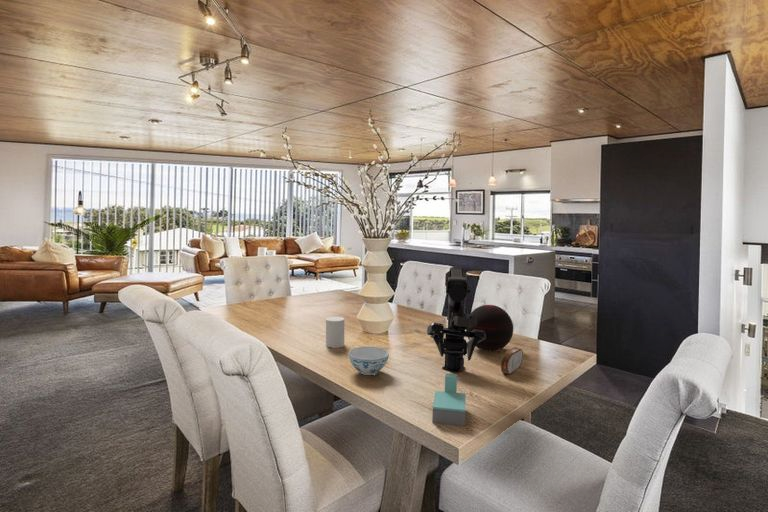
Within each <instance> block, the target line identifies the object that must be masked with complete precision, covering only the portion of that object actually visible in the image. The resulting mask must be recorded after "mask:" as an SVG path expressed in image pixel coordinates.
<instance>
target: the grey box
mask: <svg viewBox="0 0 768 512" xmlns="http://www.w3.org/2000/svg"><path fill="white" fill-rule="evenodd" d="M431 418H432V419H431V420H432V424H440V425H441V424H442V425H451V426H460V427H465V425H466V411H465V412H460V411H450V410H440V409H433V408H432V417H431Z"/></svg>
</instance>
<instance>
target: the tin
mask: <svg viewBox="0 0 768 512" xmlns="http://www.w3.org/2000/svg"><path fill="white" fill-rule="evenodd" d="M523 355H524V351H523V349H522V348H520V347H517V346H514V347H512V348H510V349H508V350H506V351H505V352H504V354H503V356H502V359H501V362H500V363H501V364H500V369H501V373H503V374H506V375H511V374H512V373H514V372H516V371H517V370H519V369H520V368H521V365H522V363H523Z"/></svg>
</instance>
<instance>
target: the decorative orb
mask: <svg viewBox="0 0 768 512" xmlns="http://www.w3.org/2000/svg"><path fill="white" fill-rule="evenodd" d="M470 316H476V317H477V325H476V326H471V328H468V329H467V330H465V331H468V332H471V331H472V330H474V329H477V330H483V331H484V332H485V334H486V339H484V340H483V341H481V342H479V343H477V344H476V346H475V348H477V349H479V350H480V351H485V352H496V351H500V350H502V349H504V348H506V347H507V345H508V344H509V343H510V342H511V340H512V338H513V336H514V335H513V334H514V324H513V321H512V317H511V316H510V315H509V314H508V312H507V311H505V309H503V308H502V307H500V306H498V305H493V304H484V305H480V306H478V307H477V308H474V309H473V310H472V311H471V312H470V313H469V315H468V316H467V318H469V317H470Z"/></svg>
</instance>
